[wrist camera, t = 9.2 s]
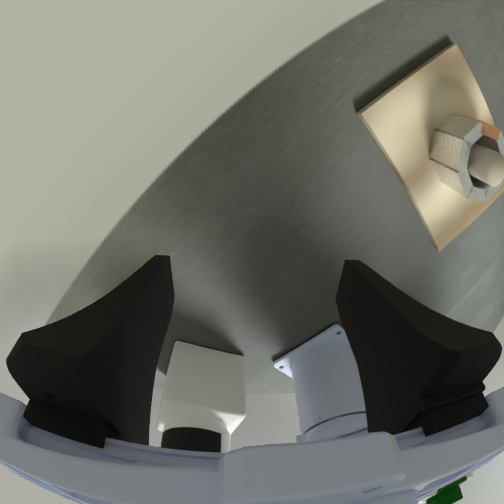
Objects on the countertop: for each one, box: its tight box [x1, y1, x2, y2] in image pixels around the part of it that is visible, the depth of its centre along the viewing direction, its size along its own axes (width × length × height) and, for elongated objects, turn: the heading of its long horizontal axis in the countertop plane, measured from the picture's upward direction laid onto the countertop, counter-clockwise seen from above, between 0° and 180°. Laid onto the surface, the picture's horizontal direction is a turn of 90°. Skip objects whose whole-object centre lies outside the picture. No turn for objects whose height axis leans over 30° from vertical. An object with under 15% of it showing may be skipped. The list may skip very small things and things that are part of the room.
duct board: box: [357, 44, 504, 251], centre depth 16 cm, size 14×11×6 cm
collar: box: [429, 114, 504, 202], centre depth 16 cm, size 6×6×4 cm
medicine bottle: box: [157, 341, 246, 453], centre depth 24 cm, size 7×7×12 cm
